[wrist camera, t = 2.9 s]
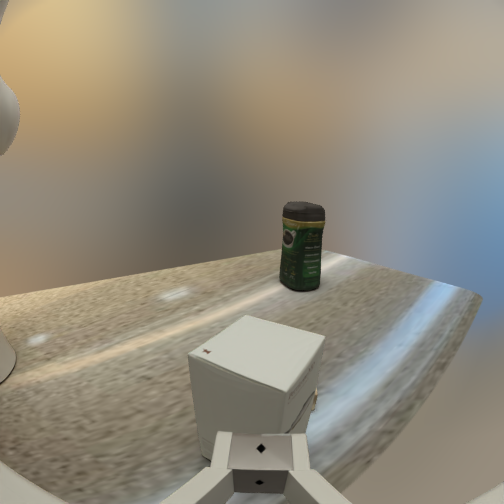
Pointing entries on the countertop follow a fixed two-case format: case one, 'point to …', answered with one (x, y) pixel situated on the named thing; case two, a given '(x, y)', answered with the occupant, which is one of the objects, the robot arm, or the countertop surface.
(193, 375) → the supplement box
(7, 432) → the countertop surface
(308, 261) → the coffee jar
